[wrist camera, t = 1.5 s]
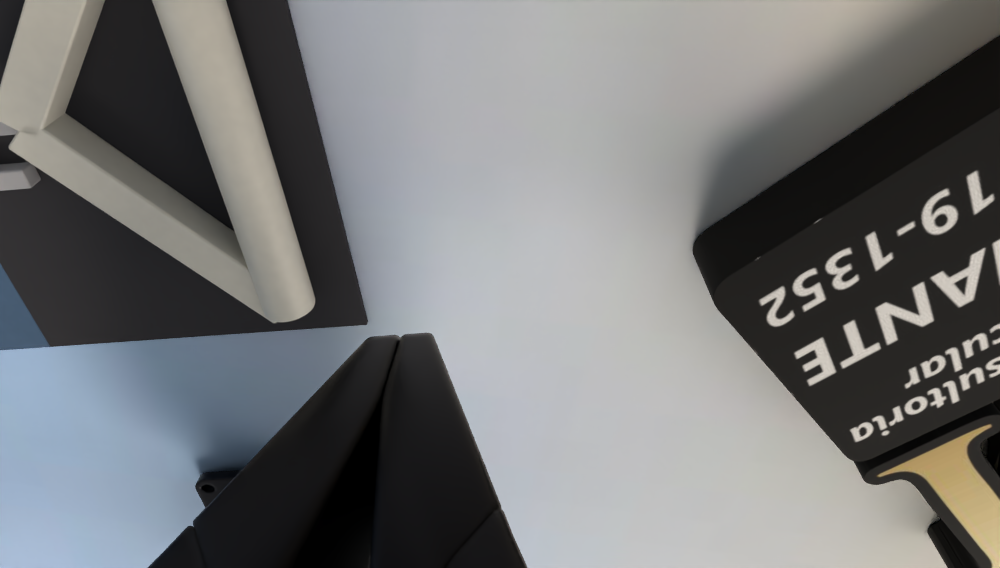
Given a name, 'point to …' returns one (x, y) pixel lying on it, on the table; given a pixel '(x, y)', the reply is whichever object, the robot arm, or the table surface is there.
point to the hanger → (135, 191)
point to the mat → (184, 167)
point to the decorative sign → (889, 297)
